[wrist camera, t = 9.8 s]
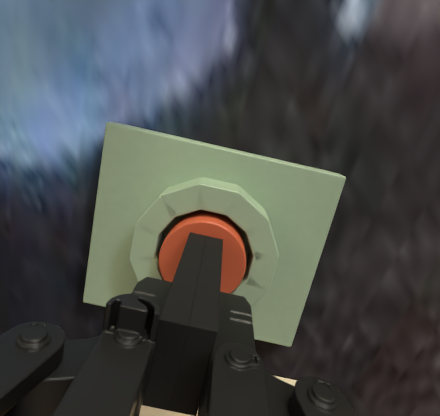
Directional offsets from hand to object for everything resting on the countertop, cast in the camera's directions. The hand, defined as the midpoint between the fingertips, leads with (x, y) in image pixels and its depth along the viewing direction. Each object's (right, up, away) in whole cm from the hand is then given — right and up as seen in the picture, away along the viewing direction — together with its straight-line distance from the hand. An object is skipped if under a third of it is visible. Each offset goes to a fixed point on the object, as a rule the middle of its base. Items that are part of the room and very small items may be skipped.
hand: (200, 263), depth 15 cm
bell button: (0, 0, +2) cm, 2 cm away
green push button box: (0, +1, +4) cm, 4 cm away
